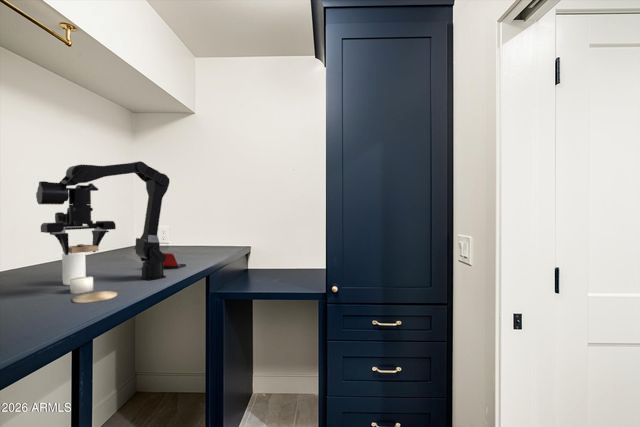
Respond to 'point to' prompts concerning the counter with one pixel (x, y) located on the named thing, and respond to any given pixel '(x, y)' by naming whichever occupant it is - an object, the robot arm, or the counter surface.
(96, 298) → the disc
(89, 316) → the counter surface
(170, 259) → the red cap
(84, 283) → the white short cylinder
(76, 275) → the can
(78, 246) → the lid
